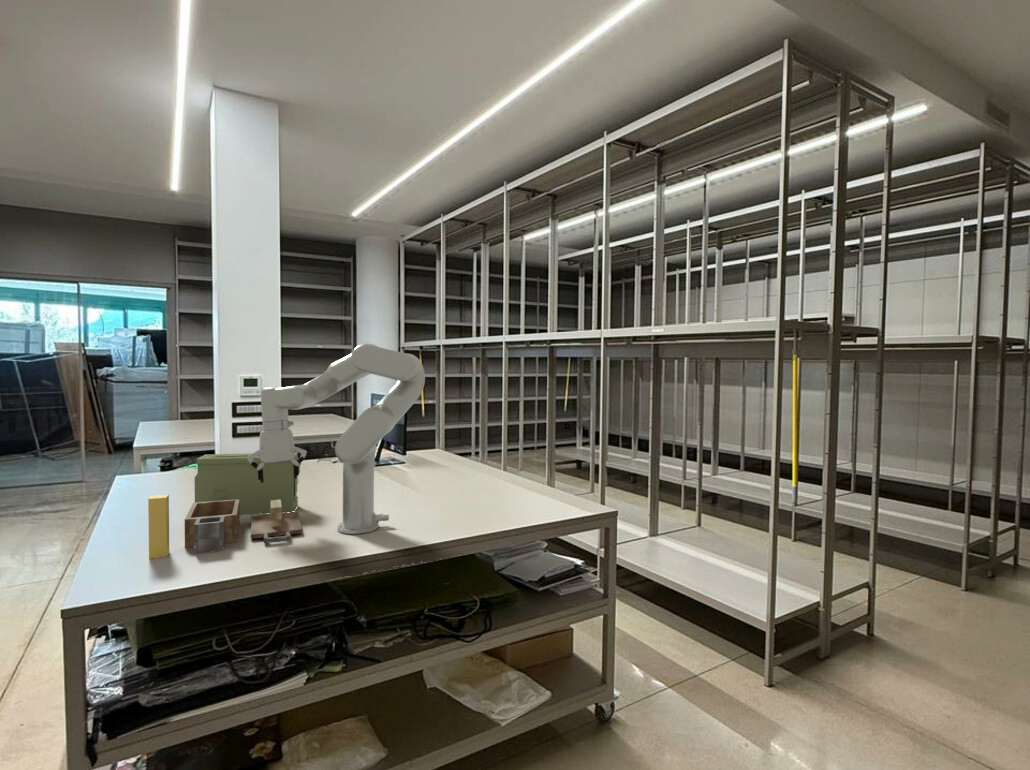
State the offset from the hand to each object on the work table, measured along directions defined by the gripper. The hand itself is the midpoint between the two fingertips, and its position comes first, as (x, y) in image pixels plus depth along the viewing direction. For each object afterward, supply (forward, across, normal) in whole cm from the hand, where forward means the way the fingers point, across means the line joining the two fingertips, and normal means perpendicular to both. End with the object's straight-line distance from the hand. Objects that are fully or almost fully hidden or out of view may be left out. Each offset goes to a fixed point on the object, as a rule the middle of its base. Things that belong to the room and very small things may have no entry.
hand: (279, 480), depth 171 cm
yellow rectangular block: (+14, +31, +13) cm, 36 cm away
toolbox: (+14, +19, +2) cm, 24 cm away
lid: (+16, +2, +2) cm, 16 cm away
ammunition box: (+15, +10, -26) cm, 31 cm away
